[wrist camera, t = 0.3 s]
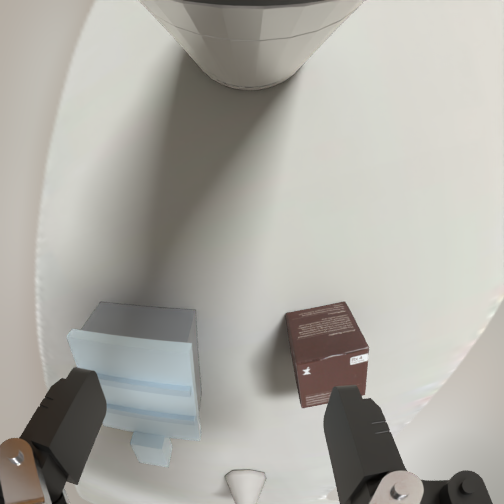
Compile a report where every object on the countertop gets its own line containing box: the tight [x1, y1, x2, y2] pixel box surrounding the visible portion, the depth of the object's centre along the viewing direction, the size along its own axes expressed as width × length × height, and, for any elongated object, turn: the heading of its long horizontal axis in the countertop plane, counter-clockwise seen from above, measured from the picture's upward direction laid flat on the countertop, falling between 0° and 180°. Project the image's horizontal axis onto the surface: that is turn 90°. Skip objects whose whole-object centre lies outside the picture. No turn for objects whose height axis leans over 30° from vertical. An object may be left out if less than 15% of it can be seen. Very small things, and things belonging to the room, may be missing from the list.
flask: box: [225, 470, 266, 504], centre depth 38 cm, size 7×7×10 cm
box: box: [286, 302, 369, 408], centre depth 26 cm, size 6×6×7 cm
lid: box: [67, 329, 201, 467], centre depth 25 cm, size 17×11×3 cm, turn 177°
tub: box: [81, 302, 202, 409], centre depth 28 cm, size 12×10×6 cm
